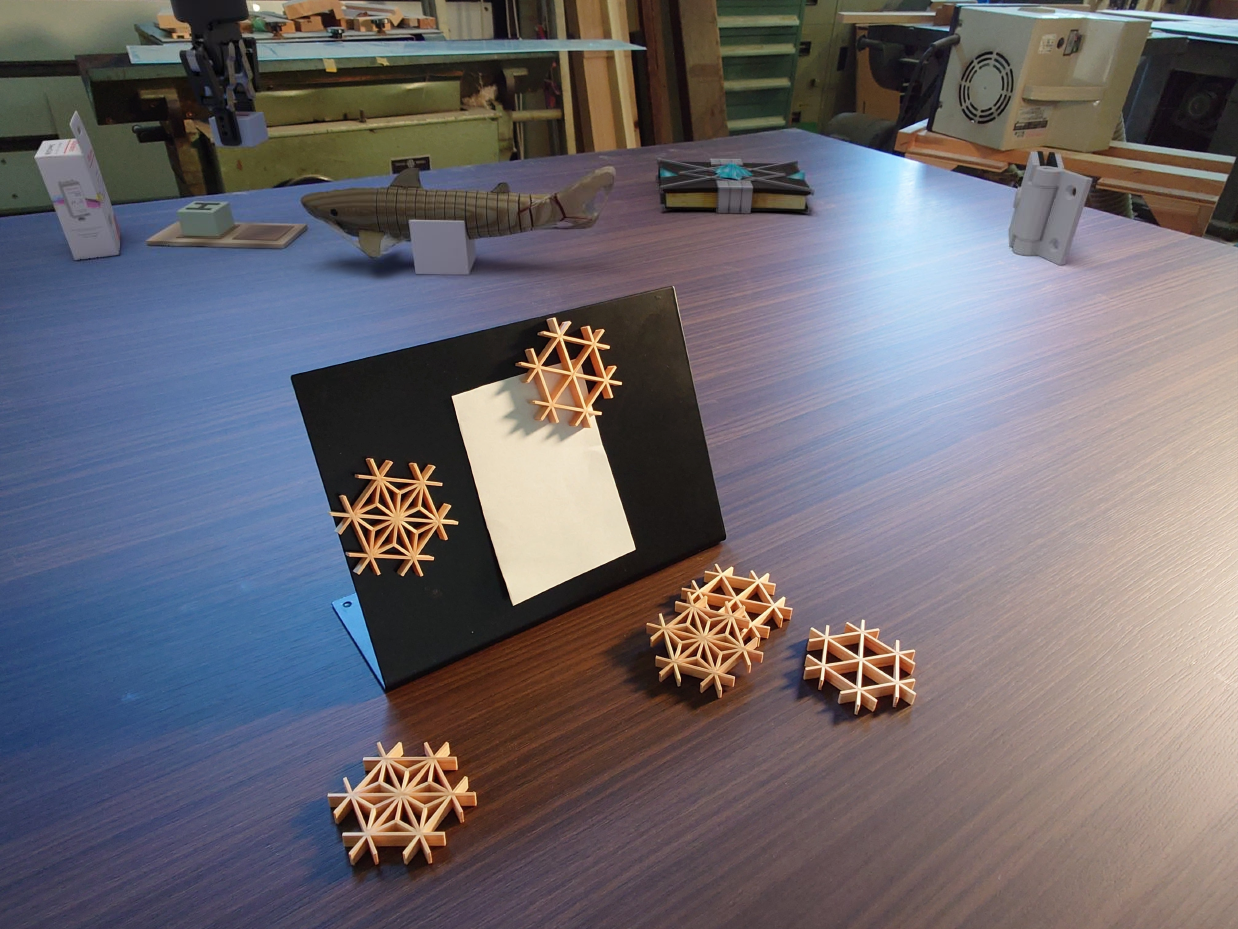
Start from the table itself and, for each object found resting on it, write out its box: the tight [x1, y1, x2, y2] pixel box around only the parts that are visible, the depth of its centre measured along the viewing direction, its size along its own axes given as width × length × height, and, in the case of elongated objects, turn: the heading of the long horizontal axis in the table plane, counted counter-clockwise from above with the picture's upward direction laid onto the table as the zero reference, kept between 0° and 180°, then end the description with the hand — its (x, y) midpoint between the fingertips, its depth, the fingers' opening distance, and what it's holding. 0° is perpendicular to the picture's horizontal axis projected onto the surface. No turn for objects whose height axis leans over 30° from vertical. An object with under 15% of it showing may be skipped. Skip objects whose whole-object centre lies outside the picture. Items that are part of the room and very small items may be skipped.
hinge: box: [1008, 150, 1094, 266], centre depth 100 cm, size 14×5×10 cm, turn 171°
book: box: [655, 157, 816, 215], centre depth 118 cm, size 22×17×5 cm
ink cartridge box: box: [34, 110, 122, 261], centre depth 94 cm, size 9×5×15 cm, turn 26°
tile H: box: [176, 200, 235, 237], centre depth 100 cm, size 4×4×3 cm
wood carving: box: [300, 165, 617, 276], centre depth 91 cm, size 9×35×11 cm, turn 91°
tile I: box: [208, 111, 270, 148], centre depth 94 cm, size 4×4×3 cm
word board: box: [145, 220, 309, 250], centre depth 101 cm, size 17×8×1 cm, turn 88°
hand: (241, 139), depth 95 cm, fingers closed on tile I, 4 cm apart
